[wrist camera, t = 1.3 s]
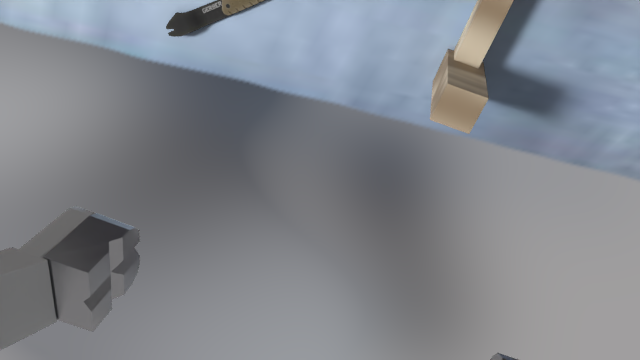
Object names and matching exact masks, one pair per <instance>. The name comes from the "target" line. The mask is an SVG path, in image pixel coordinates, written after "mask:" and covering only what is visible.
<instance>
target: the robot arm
mask: <svg viewBox="0 0 640 360" xmlns="http://www.w3.org/2000/svg"><path fill="white" fill-rule="evenodd" d="M139 242H140V233H139V230H138V229H136V228H135V227H132V226H129V225H127V224H124V223H122V222H119V221H116V220H113V219H111V218H108V217H106V216H103V215H100V214H97V213H94V212H91V211H88V210H86V209H83V208H80V207H78V206H75V207H72V208H69V209H67V210H66V211H65V212H64V213H62V214H61V215H60V216H59V217H58V218H56V219H55V220H54V221H53V222H51V223H50V224H49V225H48V226H47V227H45V228H44V229H43V230H42V231H40V232H39V233H38V234H37V235H36V236H34V237H33V238H32V239H31V240H29V241H28V242H27V243H26V244H24V245H23V246H22V247H21V248H20V249H16V248H13V247H12V248H8V249H5V250H2V251H0V350H2V349H4V348H6V347H8V346H10V345H12V344H14V343H16V342H18V341H20V340H22V339H24V338H26V337H28V336H29V335H32V334H34V333H36V332H38V331H40V330H42V329H43V328H46V327H48V326H50V325H51V324H54V323H55V322H56V321H57V320H59V321H63V322H65V323H68V324H71V325H74V326H77V327H80V328H83V329H86V330H89V331H92V332H93V331H94V330H95V329H96V328H97V327H98V326H99V324H100V323H101V322H102V321H103V320H104V318H105V317H106V316H107V315H108V313H109V312H110V311H111V310H112V299H114V298H117V297H119V296H122V295H124V294H125V293H126V291H127V290H128V289H129V288H130V286H131V285H132V283H133V281H134V279H135V277H136V275H137V273H138V269H139V265H140V255H139V254H138V252H137V251H136V249H135V248H134V247H135V246H136V245H137V244H138V243H139ZM490 360H518V359H515V358H512V357H509V356H506V355H503V354H500V353H497V354H495V355H494V356H493V357H492V358H491V359H490Z"/></svg>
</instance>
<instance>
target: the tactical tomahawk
mask: <svg viewBox="0 0 640 360" xmlns="http://www.w3.org/2000/svg"><path fill="white" fill-rule="evenodd" d="M262 1H264V0H217V1H214V2H212V3H209V4H207V5H204V6H202V7H199V8H197V9H194V10H192V11H189V12H186V13H178V12H177V13H175V15H174V16H173V17H172V19H171V20H170V21H169V22H168V24H167V26H166V29H174V31H171V32H169V33H168V34H169V36H183V35H185V34H188V33H190V32H192V31H195V30H197V29H199V28H202V27H204V26H206V25H209V24H211V23H213V22H216V21H218V20H220V19H223V18H225V17H227V16H230V15H232V14H235V13H237V12H239V11H242V10H244V9H246V8H249V7H251V6H253V5H256V4H258V3H260V2H262Z"/></svg>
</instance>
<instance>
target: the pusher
mask: <svg viewBox="0 0 640 360" xmlns="http://www.w3.org/2000/svg"><path fill="white" fill-rule="evenodd" d="M513 1H514V0H478V1H477V3H476V5H475V7H474V9H473V11H472V13H471V16H470V18H469V20H468V22H467V24H466V26H465V28H464V30H463V33H462V35H461V37H460V39H459V41H458V43H457V45H456V47H455V50H454V51H452V50H450V49H448V50H447V52H446V54H445V56H444V59H443V61H442V63H441V65H440V67H439V69H438V72H437V74H436V76H435V78H434V80H433V87H432V101H431V115H430V120H432V121H435V122H438V123H440V124H443V125H446V126H449V127H452V128H454V129H457V130H460V131H463V132H465V133H468V134H469V133H470V131H471V129H472V128H473V126H474V124H475V122H476V120H477V119H478V117H479V115H480V113H481V111H482V110H483V108H484V106H485V104H486V102H487V101H488V99H489V97H488V91H487V84H486V77H485V70H484V64H483V59H484V57H485V55H486V53H487V51H488V49H489V47H490V45H491V43H492V41H493V40H494V38H495V36H496V34H497V32H498V30H499V28H500V26H501V24H502V22H503V20H504V18H505V16H506V14H507V12H508V10H509V9H510V7H511V5H512V3H513Z"/></svg>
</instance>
